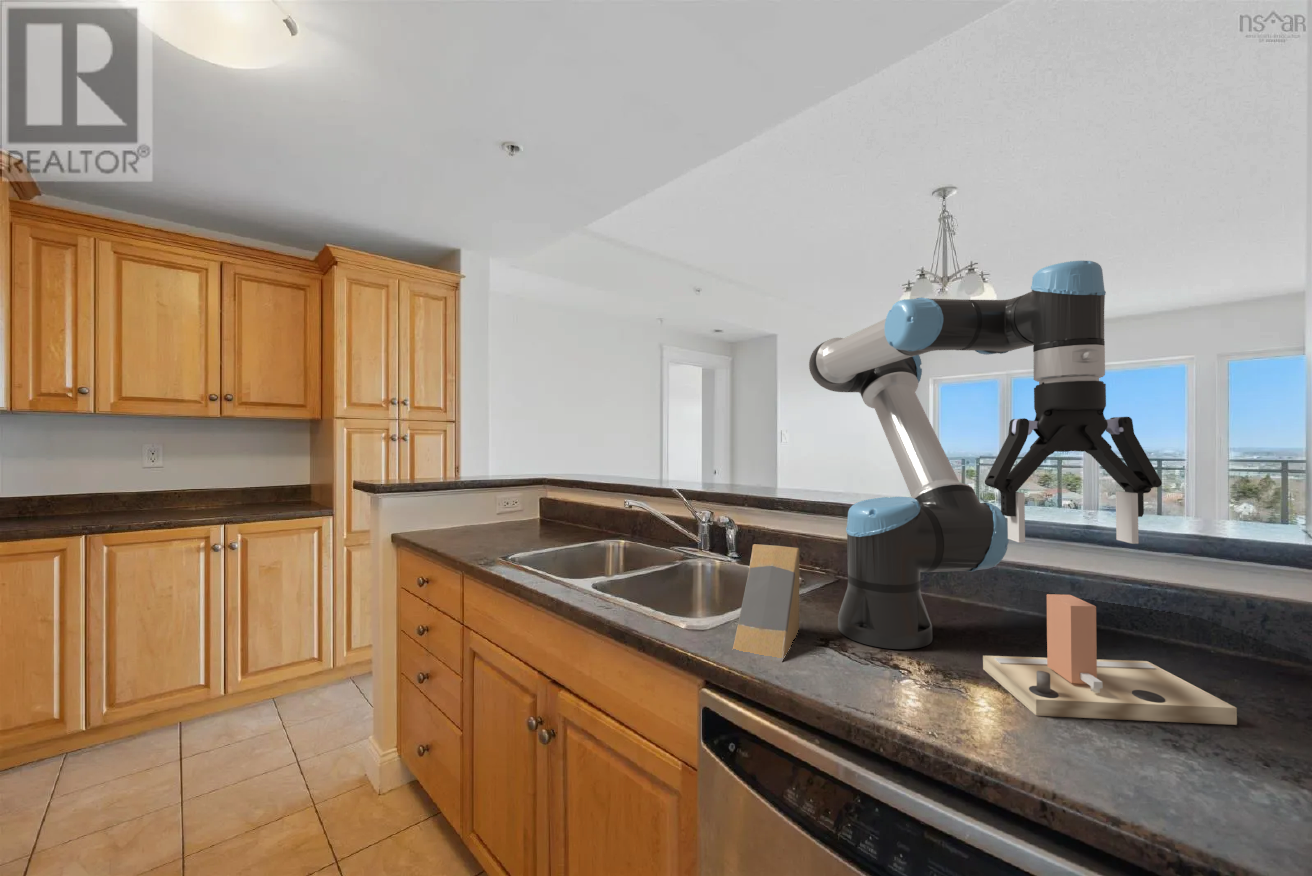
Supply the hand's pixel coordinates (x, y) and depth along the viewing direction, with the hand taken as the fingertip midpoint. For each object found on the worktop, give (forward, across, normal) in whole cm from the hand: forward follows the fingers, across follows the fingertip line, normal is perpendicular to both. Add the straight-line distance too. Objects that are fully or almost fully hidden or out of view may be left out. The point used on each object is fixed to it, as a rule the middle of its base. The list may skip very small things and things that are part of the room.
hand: (1071, 541), depth 70 cm
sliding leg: (+18, 0, -1) cm, 18 cm away
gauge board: (+20, +3, 0) cm, 21 cm away
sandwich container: (+20, -39, +15) cm, 46 cm away
